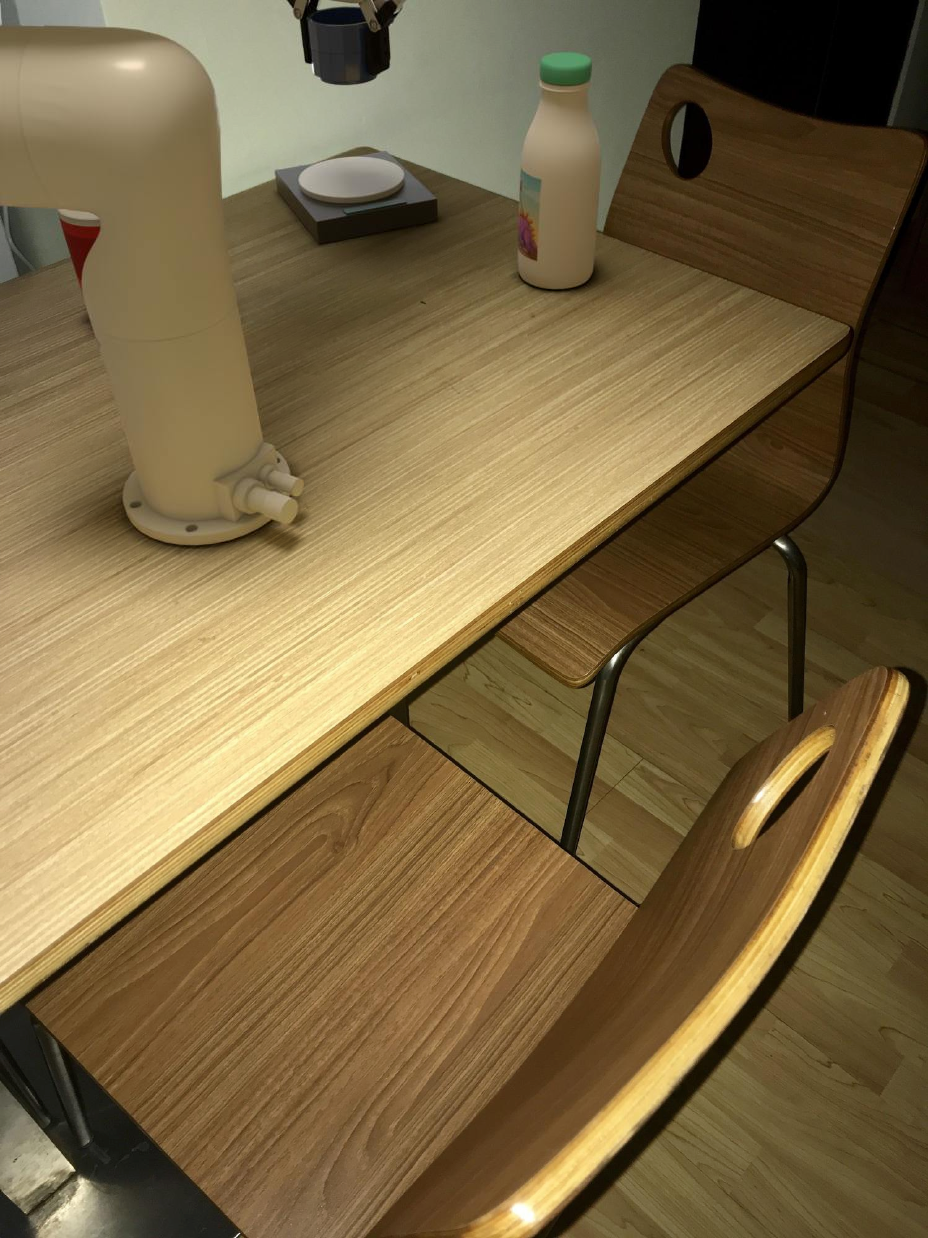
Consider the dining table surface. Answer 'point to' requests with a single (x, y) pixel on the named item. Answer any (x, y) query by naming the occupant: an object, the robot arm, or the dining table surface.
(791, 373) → the dining table surface
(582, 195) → the milk bottle
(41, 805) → the dining table surface
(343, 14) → the cup
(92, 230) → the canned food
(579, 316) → the dining table surface
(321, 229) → the kitchen scale
